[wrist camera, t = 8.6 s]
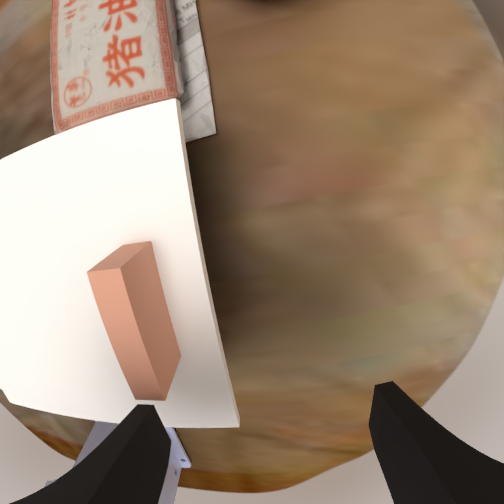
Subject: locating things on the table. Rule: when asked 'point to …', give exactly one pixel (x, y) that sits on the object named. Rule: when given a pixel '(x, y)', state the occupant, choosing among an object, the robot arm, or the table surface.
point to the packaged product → (128, 61)
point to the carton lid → (109, 277)
